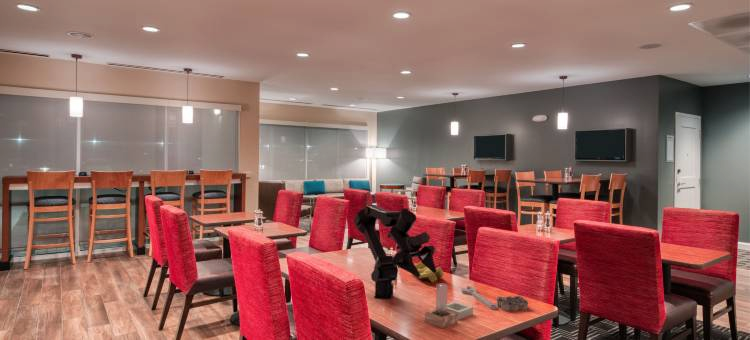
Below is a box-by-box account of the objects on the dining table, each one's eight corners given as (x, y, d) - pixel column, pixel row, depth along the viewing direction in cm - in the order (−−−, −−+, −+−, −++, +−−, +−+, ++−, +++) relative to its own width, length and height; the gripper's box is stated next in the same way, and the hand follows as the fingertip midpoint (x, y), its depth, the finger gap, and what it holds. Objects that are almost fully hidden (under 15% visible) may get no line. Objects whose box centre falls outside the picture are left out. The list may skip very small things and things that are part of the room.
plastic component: (409, 268, 214) (427, 258, 217) (415, 282, 215) (433, 272, 217) (422, 276, 195) (442, 265, 197) (429, 291, 196) (449, 280, 198)
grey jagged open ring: (502, 312, 164) (502, 300, 164) (494, 305, 172) (494, 294, 172) (530, 311, 166) (530, 299, 166) (521, 304, 173) (521, 293, 173)
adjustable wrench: (498, 311, 166) (498, 306, 166) (481, 311, 165) (482, 306, 165) (473, 289, 191) (473, 285, 191) (458, 290, 190) (458, 286, 190)
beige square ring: (442, 328, 147) (442, 319, 147) (424, 321, 153) (424, 312, 153) (457, 322, 153) (457, 313, 153) (440, 316, 158) (440, 307, 158)
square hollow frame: (458, 319, 155) (458, 312, 155) (440, 313, 161) (440, 306, 161) (472, 314, 161) (473, 307, 161) (454, 308, 167) (454, 301, 166)
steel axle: (435, 323, 151) (436, 286, 151) (435, 319, 155) (436, 283, 154) (446, 324, 151) (447, 286, 150) (446, 320, 154) (447, 283, 154)
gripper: (397, 227, 156) (423, 263, 149) (431, 223, 170) (456, 256, 162) (381, 248, 162) (405, 284, 154) (414, 242, 175) (438, 275, 167)
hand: (427, 274), depth 159 cm, fingers open, 9 cm apart
